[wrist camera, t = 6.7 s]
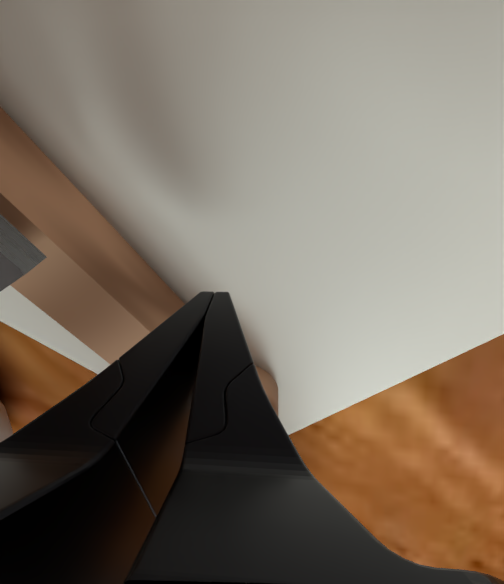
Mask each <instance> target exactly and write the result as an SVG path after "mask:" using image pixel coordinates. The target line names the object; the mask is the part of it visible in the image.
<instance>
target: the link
mask: <svg viewBox="0 0 504 584" xmlns="http://www.w3.org/2000/svg"><path fill="white" fill-rule="evenodd" d="M0 214H1V215H2V216H3V217H4V218H5V219H7V220H8V221H9V222H10V223H11V224H12V225H13V226H14V227H15V228H16V229H17V230H18V231H19V232H21V233H22V234H23V235H24V236H25V237H26V238H27V239H28V240H29V241H30V242H31V243H32V244H34V245H35V246H36V247H37V248H38V249H39V250H40V251H41V252H42V253H43V254H44V255H45V256H46V257H47V258H45V259H44V260H43V261H42V262H40V263H39V264H38V265H37V266H35V267H34V268H33V269H32V270H30V271H29V272H28V273H27V274H25V275H24V276H22V277H21V278H19V279H18V280H17V281H15V282H14V283H12V284H11V286H12V287H13V288H14V289H16V290H17V291H18V292H19V293H21V294H22V295H23V296H24V297H26V298H27V299H28V300H29V301H31V302H32V303H33V304H35V305H36V306H37V307H38V308H40V309H41V310H42V311H43V312H45V313H46V314H47V315H48V316H50V317H51V318H52V319H53V320H55V321H56V322H57V323H59V324H60V325H61V326H62V327H64V328H65V329H66V330H67V331H69V332H70V333H71V334H72V335H74V336H75V337H76V338H77V339H79V340H80V341H81V342H83V343H84V344H85V345H86V346H88V347H89V348H90V349H91V350H93V351H94V352H95V353H96V354H98V355H99V356H100V357H101V358H103V359H104V360H105V361H107V362H108V363H109V364H110V365H111V364H112V363H113V362H114V361H116V360H119V357H121V356H122V355H123V354H124V353H126V352H127V351H128V350H129V349H130V348H132V347H133V346H134V345H135V344H137V343H138V342H139V341H140V340H142V339H143V338H144V337H145V336H147V335H148V334H149V333H150V332H151V331H153V330H154V329H155V328H156V327H158V326H159V325H160V324H161V323H163V322H164V321H165V320H166V319H168V318H169V317H170V316H171V315H172V314H174V313H175V312H176V311H177V310H179V309H180V308H181V307H182V306H184V305H185V303H184V302H183V301H182V300H181V299H180V298H179V297H178V296H177V295H176V294H175V293H174V292H173V291H172V290H171V288H170V287H169V286H168V285H167V284H166V283H165V282H164V281H163V280H162V279H161V278H160V277H159V276H158V275H157V274H156V272H155V271H154V270H153V269H152V268H151V267H150V266H149V265H148V264H147V263H146V262H145V261H144V260H143V259H142V257H141V256H140V255H139V254H138V253H137V252H136V251H135V250H134V249H133V248H132V247H131V246H130V245H129V244H128V243H127V241H126V240H125V239H124V238H123V237H122V236H121V235H120V234H119V233H118V232H117V231H116V230H115V229H114V228H113V226H112V225H111V224H110V223H109V222H108V221H107V220H106V219H105V218H104V217H103V216H102V215H101V214H100V213H99V212H98V210H97V209H96V208H95V207H94V206H93V205H92V204H91V203H90V202H89V201H88V200H87V199H86V198H85V197H84V196H83V194H82V193H81V192H80V191H79V190H78V189H77V188H76V187H75V186H74V185H73V184H72V183H71V182H70V181H69V179H68V178H67V177H66V176H65V175H64V174H63V173H62V172H61V171H60V170H59V169H58V168H57V167H56V166H55V165H54V163H53V162H52V161H51V160H50V159H49V158H48V157H47V156H46V155H45V154H44V153H43V152H42V151H41V150H40V148H39V147H38V146H37V145H36V144H35V143H34V142H33V141H32V140H31V139H30V138H29V137H28V136H27V135H26V134H25V132H24V131H23V130H22V129H21V128H20V127H19V126H18V125H17V124H16V123H15V122H14V121H13V120H12V119H11V117H10V116H9V115H8V114H7V113H6V112H5V111H4V110H3V109H2V108H1V107H0ZM255 367H256V370H257V373H258V376H259V378H260V380H261V383H262V385H263V388H264V390H265V392H266V394H267V396H268V399H269V401H270V403H271V405H272V407H273V408H274V410H275V412H276V414H277V416H278V386H277V383H276V381H275V380H274V378H273V377H272V376H271V375H270V374H269V373H268V372H266V371H265V370H263V369H262V368H260V367H257V366H255Z"/></svg>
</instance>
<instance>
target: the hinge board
mask: <svg viewBox="0 0 504 584" xmlns="http://www.w3.org/2000/svg"><path fill="white" fill-rule="evenodd" d="M0 107H1V108H2V109H3V110H4V111H5V112H6V113H7V114H8V115H9V116H10V117H11V119H12V120H13V121H14V122H15V123H16V124H17V125H18V126H19V127H20V128H21V129H22V130H23V131H24V132H25V134H26V135H27V136H28V137H29V138H30V139H31V140H32V141H33V142H34V143H35V144H36V145H37V146H38V147H39V148H40V150H41V151H42V152H43V153H44V154H45V155H46V156H47V157H48V158H49V159H50V160H51V161H52V162H53V163H54V165H55V166H56V167H57V168H58V169H59V170H60V171H61V172H62V173H63V174H64V175H65V176H66V177H67V178H68V179H69V181H70V182H71V183H72V184H73V185H74V186H75V187H76V188H77V189H78V190H79V191H80V192H81V193H82V194H83V196H84V197H85V198H86V199H87V200H88V201H89V202H90V203H91V204H92V205H93V206H94V207H95V208H96V209H97V210H98V212H99V213H100V214H101V215H102V216H103V217H104V218H105V219H106V220H107V221H108V222H109V223H110V224H111V225H112V226H113V228H114V229H115V230H116V231H117V232H118V233H119V234H120V235H121V236H122V237H123V238H124V239H125V240H126V241H127V243H128V244H129V245H130V246H131V247H132V248H133V249H134V250H135V251H136V252H137V253H138V254H139V255H140V256H141V257H142V259H143V260H144V261H145V262H146V263H147V264H148V265H149V266H150V267H151V268H152V269H153V270H154V271H155V272H156V274H157V275H158V276H159V277H160V278H161V279H162V280H163V281H164V282H165V283H166V284H167V285H168V286H169V287H170V288H171V290H172V291H173V292H174V293H175V294H176V295H177V296H178V297H179V298H180V299H181V300H182V301H183V302H184V303H185V304H186V303H187V302H188V301H190V300H191V299H192V298H193V297H195V296H196V295H197V294H198V293H200V292H202V291H207V292H214V293H215V292H229V293H230V296H231V299H232V302H233V305H234V308H235V310H236V313H237V316H238V319H239V322H240V325H241V328H242V330H243V333H244V336H245V339H246V342H247V345H248V348H249V350H250V353H251V356H252V359H253V362H254V365H255V366H257V367H260V368H262V369H263V370H265V371H266V372H268V373H269V374H270V375H271V376H272V377H273V378H274V380H275V381H276V383H277V386H278V418H279V419H280V421H281V423H282V425H283V427H284V428H285V430H286V432H287V434H288V435H290V434H292V433H294V432H296V431H298V430H300V429H302V428H304V427H307V426H309V425H311V424H313V423H315V422H317V421H319V420H321V419H324V418H326V417H328V416H330V415H332V414H334V413H336V412H338V411H341V410H343V409H345V408H347V407H349V406H351V405H353V404H355V403H358V402H360V401H362V400H364V399H366V398H368V397H370V396H372V395H375V394H377V393H379V392H381V391H383V390H385V389H387V388H389V387H392V386H394V385H396V384H398V383H400V382H402V381H404V380H406V379H409V378H411V377H413V376H415V375H417V374H419V373H421V372H423V371H426V370H428V369H430V368H432V367H434V366H436V365H438V364H440V363H443V362H445V361H447V360H449V359H451V358H453V357H455V356H457V355H460V354H462V353H464V352H466V351H468V350H470V349H472V348H474V347H477V346H479V345H481V344H483V343H485V342H487V341H489V340H491V339H494V338H496V337H498V336H500V335H502V334H504V0H0ZM0 321H1V322H3V323H5V324H7V325H9V326H11V327H12V328H14V329H16V330H18V331H20V332H22V333H23V334H25V335H27V336H29V337H31V338H33V339H34V340H36V341H38V342H40V343H42V344H44V345H45V346H47V347H49V348H51V349H53V350H54V351H56V352H58V353H60V354H62V355H64V356H65V357H67V358H69V359H71V360H73V361H75V362H76V363H78V364H80V365H82V366H84V367H86V368H87V369H89V370H91V371H93V372H95V373H97V374H99V373H100V372H102V371H103V370H104V369H106V368H107V367H108V366H109V365H110V364H109V363H108V362H107V361H105V360H104V359H103V358H101V357H100V356H99V355H98V354H96V353H95V352H94V351H93V350H91V349H90V348H89V347H88V346H86V345H85V344H84V343H83V342H81V341H80V340H79V339H77V338H76V337H75V336H74V335H72V334H71V333H70V332H69V331H67V330H66V329H65V328H64V327H62V326H61V325H60V324H59V323H57V322H56V321H55V320H53V319H52V318H51V317H50V316H48V315H47V314H46V313H45V312H43V311H42V310H41V309H40V308H38V307H37V306H36V305H35V304H33V303H32V302H31V301H29V300H28V299H27V298H26V297H24V296H23V295H22V294H21V293H19V292H18V291H17V290H16V289H14V288H13V287H12V286H11V285H9V286H8V287H6V288H5V289H3V290H2V291H1V292H0Z"/></svg>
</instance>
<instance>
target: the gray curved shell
mask: <svg viewBox="0 0 504 584" xmlns="http://www.w3.org/2000/svg"><path fill="white" fill-rule="evenodd" d="M11 435H13V431H12V427H11V424H10V421H9V418H8V415H7V411H6V408H5V407H4V405H3V404H2V403H1V401H0V442H2V441H3V440H5V439H6V438H8V437H10V436H11Z"/></svg>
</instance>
